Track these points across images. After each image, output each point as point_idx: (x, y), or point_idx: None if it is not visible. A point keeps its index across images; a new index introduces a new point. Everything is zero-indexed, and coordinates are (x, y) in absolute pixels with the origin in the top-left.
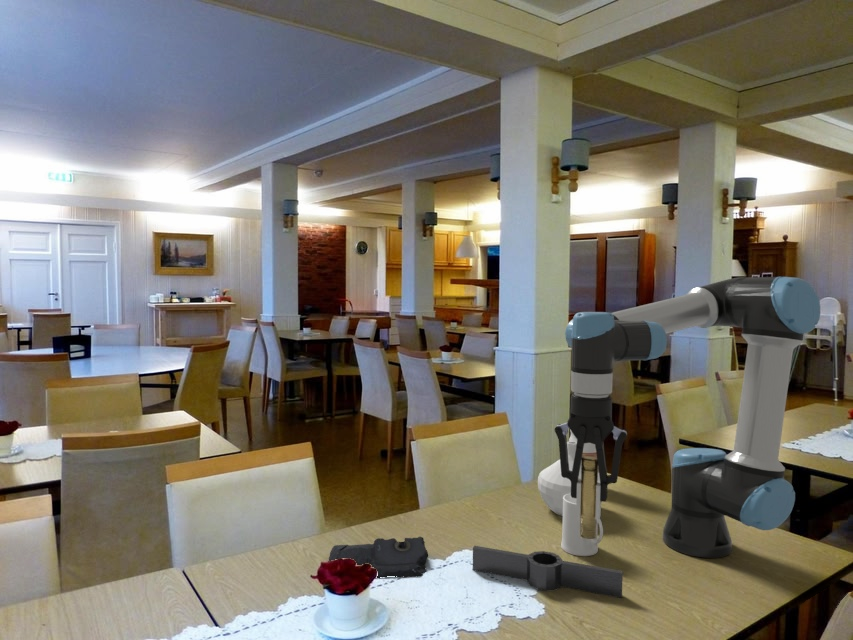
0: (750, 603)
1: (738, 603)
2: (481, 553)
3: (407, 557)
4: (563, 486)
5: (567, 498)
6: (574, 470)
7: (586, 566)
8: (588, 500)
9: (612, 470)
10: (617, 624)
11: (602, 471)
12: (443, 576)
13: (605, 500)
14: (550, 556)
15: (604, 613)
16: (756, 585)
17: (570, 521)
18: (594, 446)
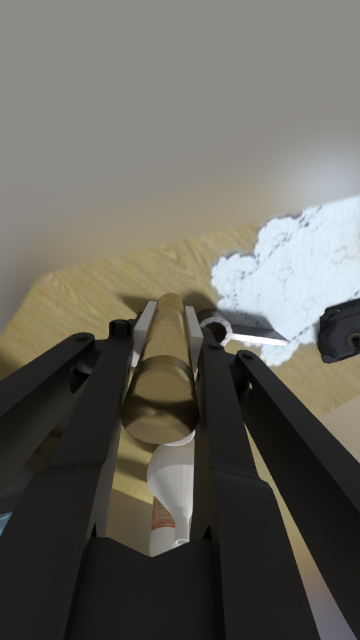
0: (28, 328)
1: (38, 325)
2: (277, 337)
3: (347, 325)
4: (190, 464)
5: (189, 435)
6: (220, 363)
7: None
8: (169, 314)
9: (65, 359)
10: (144, 263)
11: (111, 357)
12: (304, 313)
13: (129, 319)
14: None
15: (155, 281)
16: (25, 358)
17: None
18: (155, 539)
